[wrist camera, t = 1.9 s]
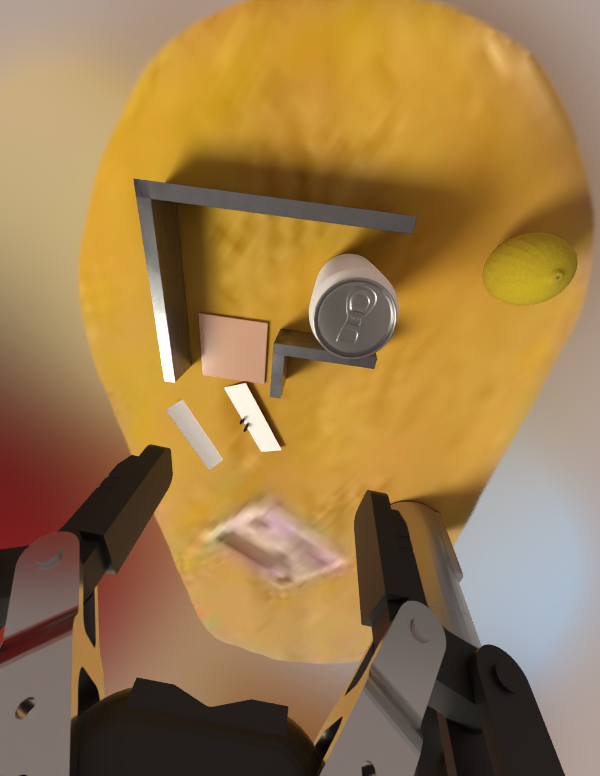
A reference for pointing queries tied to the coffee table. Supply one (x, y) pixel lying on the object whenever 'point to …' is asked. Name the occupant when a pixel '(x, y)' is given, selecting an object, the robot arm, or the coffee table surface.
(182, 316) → the guide rails
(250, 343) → the pad
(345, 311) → the can
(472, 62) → the coffee table surface
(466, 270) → the coffee table surface
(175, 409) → the white strips
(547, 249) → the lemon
